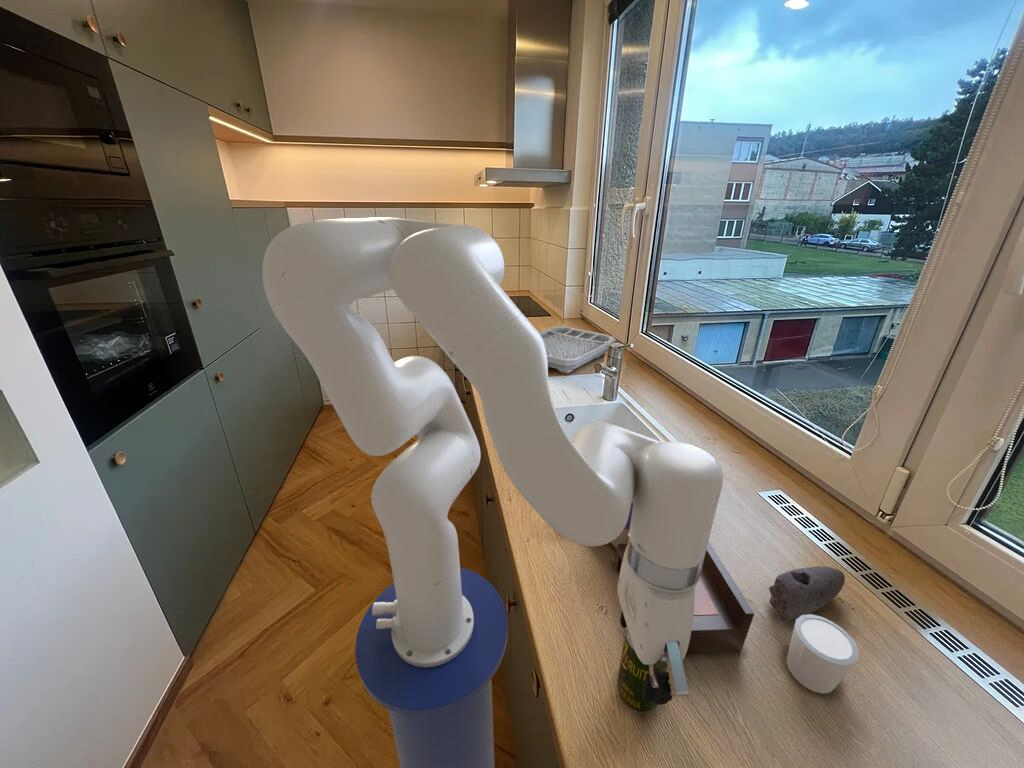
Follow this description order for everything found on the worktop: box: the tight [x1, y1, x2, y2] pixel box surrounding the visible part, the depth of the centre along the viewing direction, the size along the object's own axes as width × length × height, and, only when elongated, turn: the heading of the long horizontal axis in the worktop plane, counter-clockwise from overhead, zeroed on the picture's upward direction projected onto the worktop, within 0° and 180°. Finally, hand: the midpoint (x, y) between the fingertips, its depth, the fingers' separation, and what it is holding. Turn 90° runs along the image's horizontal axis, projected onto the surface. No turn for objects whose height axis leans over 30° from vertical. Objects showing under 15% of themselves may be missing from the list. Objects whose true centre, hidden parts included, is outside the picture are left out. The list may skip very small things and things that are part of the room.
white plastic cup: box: [786, 613, 859, 695], centre depth 55 cm, size 7×7×7 cm
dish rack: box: [539, 326, 617, 374], centre depth 167 cm, size 32×37×8 cm
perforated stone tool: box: [768, 565, 846, 622], centre depth 64 cm, size 15×5×7 cm, turn 108°
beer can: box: [616, 627, 668, 714], centre depth 51 cm, size 5×5×12 cm
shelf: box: [614, 540, 755, 655], centre depth 64 cm, size 14×16×8 cm
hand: (643, 658), depth 50 cm, fingers open, 8 cm apart
